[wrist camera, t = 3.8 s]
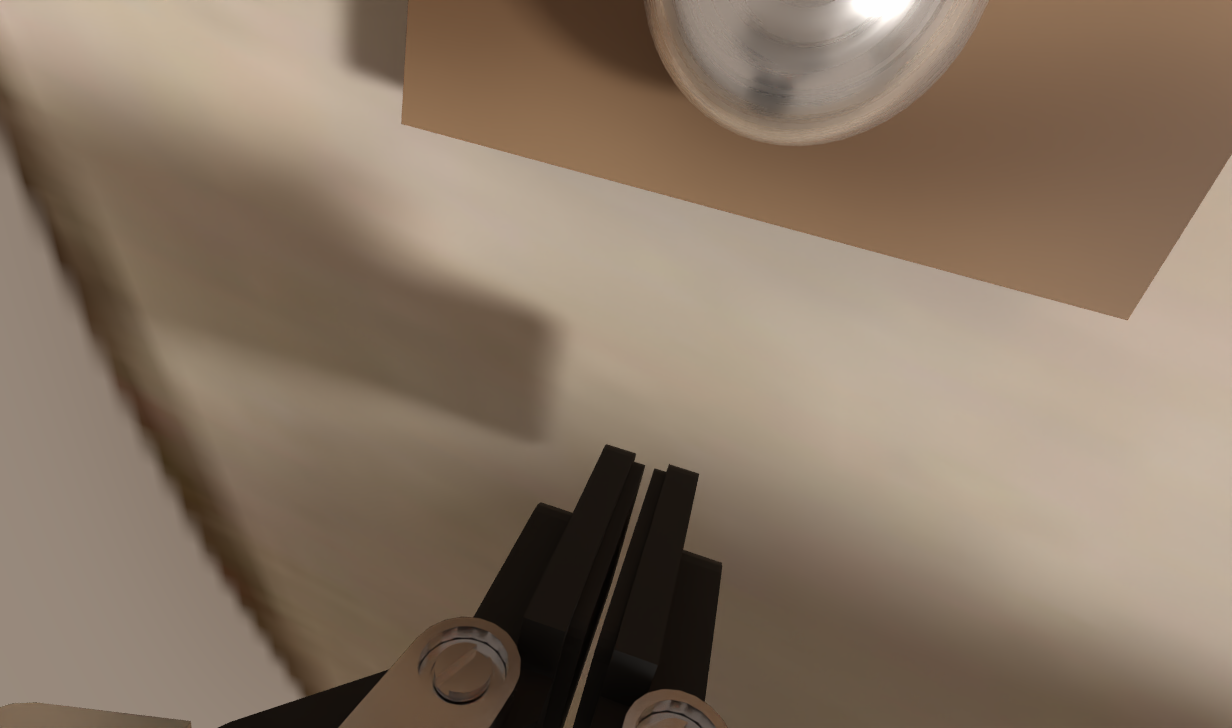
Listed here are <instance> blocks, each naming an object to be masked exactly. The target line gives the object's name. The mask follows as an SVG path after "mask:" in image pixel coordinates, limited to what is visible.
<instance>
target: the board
mask: <svg viewBox="0 0 1232 728" xmlns="http://www.w3.org/2000/svg"><path fill="white" fill-rule="evenodd" d="M401 124H404V125H408V126H412V127H415V128H419V129H423V130H426V131H430V132H434V133H438V134H441V135H445V136H449V137H452V138H456V139H460V140H463V141H467V142H471V143H474V144H478V145H482V146H486V147H489V148H493V149H497V150H500V151H504V152H508V153H511V154H515V155H519V156H523V157H526V158H530V159H534V160H537V161H541V162H545V163H548V164H552V165H556V166H559V167H563V168H567V169H571V170H574V171H578V172H582V173H585V174H589V175H593V176H596V177H600V178H604V179H608V180H611V181H615V182H619V183H622V184H626V185H630V186H633V187H637V188H641V189H644V190H648V191H652V192H656V193H659V194H663V195H667V196H670V197H674V198H678V199H681V200H685V201H689V202H692V203H696V204H700V205H704V206H707V207H711V208H715V209H718V210H722V211H726V212H729V213H733V214H737V215H741V216H744V217H748V218H752V219H755V220H759V221H763V222H766V223H770V224H774V225H777V226H781V227H785V228H789V229H792V230H796V231H800V232H803V233H807V234H811V235H814V236H818V237H822V238H825V239H829V240H833V241H837V242H840V243H844V244H848V245H851V246H855V247H859V248H862V249H866V250H870V251H874V252H877V253H881V254H885V255H888V256H892V257H896V258H899V259H903V260H907V261H910V262H914V263H918V264H922V265H925V266H929V267H933V268H936V269H940V270H944V271H947V272H951V273H955V274H958V275H962V276H966V277H970V278H973V279H977V280H981V281H984V282H988V283H992V284H995V285H999V286H1003V287H1007V288H1010V289H1014V290H1018V291H1021V292H1025V293H1029V294H1032V295H1036V296H1040V297H1043V298H1047V299H1051V300H1055V301H1058V302H1062V303H1066V304H1069V305H1073V306H1077V307H1080V308H1084V309H1088V310H1092V311H1095V312H1099V313H1103V314H1106V315H1110V316H1114V317H1117V318H1121V319H1125V320H1128V319H1129V317H1130V315H1131V314H1132V312H1133V311H1134V309H1135V307H1136V306H1137V304H1138V303H1139V301H1140V299H1141V298H1142V296H1143V295H1144V293H1145V291H1146V290H1147V288H1148V287H1149V285H1150V283H1151V282H1152V280H1153V279H1154V277H1155V276H1156V274H1157V272H1158V271H1159V269H1160V268H1161V266H1162V264H1163V263H1164V261H1165V260H1166V258H1167V256H1168V255H1169V253H1170V252H1171V250H1172V248H1173V247H1174V245H1175V244H1176V242H1177V240H1178V239H1179V237H1180V236H1181V234H1182V232H1183V231H1184V229H1185V228H1186V226H1187V225H1188V223H1189V221H1190V220H1191V218H1192V217H1193V215H1194V213H1195V212H1196V210H1197V209H1198V207H1199V205H1200V204H1201V202H1202V201H1203V199H1204V197H1205V196H1206V194H1207V193H1208V191H1209V189H1210V188H1211V186H1212V185H1213V183H1214V181H1215V180H1216V178H1217V177H1218V175H1219V174H1220V172H1221V170H1222V169H1223V167H1224V166H1225V164H1226V162H1227V161H1228V159H1229V158H1230V156H1231V154H1232V0H989V2H988V4H987V6H986V8H985V10H984V12H983V14H982V16H981V18H980V20H979V22H978V24H977V26H976V28H975V30H974V32H973V33H972V35H971V37H970V38H969V40H968V41H967V43H966V45H965V46H964V48H963V49H962V51H961V52H960V54H959V55H958V56H957V58H956V59H955V60H954V61H953V63H952V64H951V65H950V66H949V68H948V69H947V70H946V71H945V73H944V74H943V75H942V76H941V77H940V78H939V79H938V80H937V81H936V82H935V83H934V84H933V85H932V86H931V87H930V88H929V89H928V90H927V91H926V92H925V93H924V94H923V95H921V96H920V97H919V98H918V99H917V100H915V101H914V102H913V103H912V104H910V105H909V106H908V107H907V108H905V109H904V110H902V111H901V112H899V113H898V114H896V115H895V116H893V117H891V118H890V119H888V120H887V121H885V122H883V123H881V124H879V125H877V126H875V127H873V128H871V129H869V130H867V131H865V132H862V133H860V134H857V135H854V136H851V137H848V138H845V139H843V140H838V141H834V142H829V143H824V144H818V145H807V146H785V145H775V144H769V143H764V142H758V141H755V140H752V139H749V138H746V137H743V136H740V135H738V134H736V133H734V132H732V131H730V130H728V129H726V128H724V127H722V126H720V125H719V124H717V123H716V122H714V121H713V120H711V119H710V118H708V117H707V116H705V115H704V114H703V113H702V112H701V111H700V110H699V109H698V108H696V107H695V106H694V105H693V104H692V103H691V102H690V101H689V100H688V99H687V98H686V96H685V95H684V94H683V93H682V92H681V90H680V89H679V88H678V87H677V86H676V84H675V83H674V81H673V80H672V78H671V76H670V75H669V73H668V72H667V70H666V69H665V67H664V65H663V63H662V60H661V58H660V56H659V54H658V52H657V50H656V48H655V44H654V41H653V38H652V35H651V32H650V29H649V26H648V21H647V16H646V11H645V6H644V0H408V13H407V31H406V50H405V68H404V86H403V104H402V122H401Z"/></svg>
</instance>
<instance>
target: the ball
mask: <svg viewBox="0 0 1232 728" xmlns="http://www.w3.org/2000/svg"><path fill="white" fill-rule="evenodd" d="M988 2H989V0H644V6H645V11H646V16H647V21H648V26H649V29H650V32H651V35H652V38H653V41H654V44H655V48H656V50H657V52H658V54H659V56H660V58H661V60H662V63H663V65H664V67H665V69H666V70H667V72H668V73H669V75H670V76H671V78H672V80H673V81H674V83H675V84H676V86H677V87H678V88H679V89H680V90H681V92H682V93H683V94H684V95H685V96H686V98H687V99H688V100H689V101H690V102H691V103H692V104H693V105H694V106H695V107H696V108H698V109H699V110H700V111H701V112H702V113H703V114H704V115H705V116H707V117H708V118H710V119H711V120H713V121H714V122H716V123H717V124H719V125H720V126H722V127H724V128H726V129H728V130H730V131H732V132H734V133H736V134H738V135H740V136H743V137H746V138H749V139H752V140H755V141H758V142H764V143H769V144H775V145H785V146H807V145H818V144H824V143H829V142H834V141H838V140H843V139H845V138H848V137H851V136H854V135H857V134H860V133H862V132H865V131H867V130H869V129H871V128H873V127H875V126H877V125H879V124H881V123H883V122H885V121H887V120H888V119H890V118H891V117H893V116H895V115H896V114H898V113H899V112H901V111H902V110H904V109H905V108H907V107H908V106H909V105H910V104H912V103H913V102H914V101H915V100H917V99H918V98H919V97H920V96H921V95H923V94H924V93H925V92H926V91H927V90H928V89H929V88H930V87H931V86H932V85H933V84H934V83H935V82H936V81H937V80H938V79H939V78H940V77H941V76H942V75H943V74H944V73H945V71H946V70H947V69H948V68H949V66H950V65H951V64H952V63H953V61H954V60H955V59H956V58H957V56H958V55H959V54H960V52H961V51H962V49H963V48H964V46H965V45H966V43H967V41H968V40H969V38H970V37H971V35H972V33H973V32H974V30H975V28H976V26H977V24H978V22H979V20H980V18H981V16H982V14H983V12H984V10H985V8H986V6H987V4H988Z"/></svg>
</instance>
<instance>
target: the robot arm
mask: <svg viewBox="0 0 1232 728" xmlns="http://www.w3.org/2000/svg"><path fill="white" fill-rule="evenodd" d="M635 456H636V453H632V452H629V451H626V450H623V449H620V448H617V447H614V446H610V445H607V444H606V445H605V447H604V449H603V451H602V453H601V455H600V457H599V459H598V462H597V464H596V466H595V468H594V470H593V472H592V474H591V476H590V478H589V480H588V483H587V485H586V487H585V489H584V491H583V493H582V495H581V497H580V499H579V501H578V503H577V506H576V508H575V510H574V512H573V513H571V512H568V511H565V510H562V509H559V508H556V507H553V506H550V505H547V504H544V503H539V504H538V505H537V507H536V508H535V510H534V511H533V513H532V515H531V517H530V518H529V520H528V522H527V524H526V526H525V527H524V529H523V531H522V533H521V534H520V536H519V538H518V540H517V541H516V543H515V545H514V547H513V548H512V550H511V552H510V554H509V556H508V557H507V559H506V561H505V563H504V564H503V566H502V568H501V570H500V571H499V573H498V575H497V577H496V578H495V580H494V582H493V584H492V586H491V587H490V589H489V591H488V593H487V594H486V596H485V598H484V600H483V601H482V603H481V605H480V607H479V608H478V610H477V612H476V614H475V616H474V617H473V618H472V617H458V618H452V619H447V620H444V621H442V622H439V623H437V624H435V625H433V626H431V627H429V628H428V629H427V630H426V631H425V632H423V633H422V634H421V635H420V636H419V637H417V638H416V640H415V641H414V642H413V643H412V644H411V645H410V646H409V648H408V649H407V650H406V651H405V652H404V653H403V654H402V656H401V657H400V658H399V659H398V660H397V661H396V662H395V664H394V665H393V666H392V667H391V668H390V669H389V670H386V671H383V672H380V673H377V674H374V675H371V676H368V677H365V678H362V679H359V680H356V681H353V682H350V683H347V684H344V685H341V686H338V687H335V688H332V689H329V690H326V691H323V692H320V693H317V694H314V695H311V696H308V697H305V698H302V699H299V700H296V701H293V702H289V703H286V704H283V705H281V706H278V707H274V708H271V709H269V710H265V711H262V712H259V713H257V714H253V715H250V716H247V717H244V718H241V719H238V720H235V721H232V722H229V723H227V724H225V725H223V726H221V727H218V728H563V726H564V723H565V720H566V717H567V714H568V711H569V708H570V705H571V702H572V699H573V697H574V694H575V691H576V688H577V685H578V682H579V679H580V676H581V673H582V670H583V667H584V664H585V661H586V658H587V655H588V652H589V649H590V646H591V643H592V640H593V637H594V634H595V632H596V629H597V626H598V623H599V620H600V617H601V614H602V611H603V608H604V605H605V602H606V599H607V596H608V593H609V590H610V587H611V583H612V580H613V577H614V573H615V570H616V566H617V563H618V559H619V556H620V552H621V549H622V545H623V542H624V538H625V535H626V531H627V528H628V524H629V521H630V517H631V514H632V510H633V507H634V503H635V500H636V496H637V493H638V489H639V486H640V482H641V479H642V475H643V472H644V468H645V465H643V464H639V463H636V462H634V460H635ZM698 477H699V474H698V473H695V472H692V471H689V470H686V469H683V468H679V467H676V466H673V465H670V464H669V466H668V469H667V472H664V471H661V470H658V469H654V472H653V475H652V478H651V481H650V484H649V487H648V490H647V493H646V496H645V499H644V502H643V505H642V508H641V511H640V514H639V517H638V520H637V523H636V526H635V530H634V533H633V536H632V539H631V542H630V545H629V548H628V551H627V554H626V557H625V560H624V563H623V566H622V569H621V572H620V575H619V578H618V581H617V584H616V587H615V590H614V593H613V596H612V599H611V603H610V606H609V609H608V612H607V615H606V618H605V621H604V624H603V627H602V630H601V633H600V636H599V640H598V643H597V646H596V649H595V653H594V656H593V659H592V663H591V666H590V670H589V673H588V677H587V680H586V684H585V687H584V691H583V694H582V698H581V701H580V705H579V708H578V711H577V715H576V718H575V722H574V725H573V728H727V726H726V724H725V722H724V721H723V719H722V718H721V717H720V716H719V715H718V714H717V713H716V712H715V710H714V709H713V708H712V707H711V706H709V705H708V704H706V703H705V695H706V687H707V680H708V672H709V665H710V657H711V649H712V642H713V634H714V626H715V619H716V611H717V603H718V596H719V588H720V580H721V572H722V563H721V562H718V561H715V560H712V559H709V558H706V557H703V556H700V555H697V554H694V553H691V552H688V551H685V550H683V547H684V542H685V537H686V533H687V528H688V523H689V519H690V514H691V510H692V505H693V500H694V496H695V491H696V486H697V482H698ZM0 728H191V722H190V721H184V720H176V719H168V718H160V717H152V716H142V715H135V714H127V713H119V712H111V711H103V710H94V709H86V708H77V707H70V706H61V705H53V704H44V703H37V702H33V703H12V704H9V705H5V706H2V707H0Z"/></svg>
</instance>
